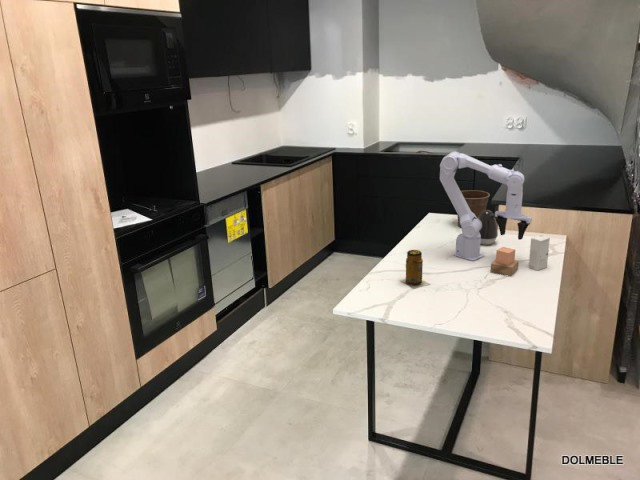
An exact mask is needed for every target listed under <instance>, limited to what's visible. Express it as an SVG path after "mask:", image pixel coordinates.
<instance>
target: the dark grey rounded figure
mask: <svg viewBox="0 0 640 480" xmlns="http://www.w3.org/2000/svg"><path fill="white" fill-rule="evenodd" d="M496 218H497V217H496V216H495V213H493V211H491V210H489V209H486V210H484V211H482V212H481V213H480V215H479V217H478V219H479V220H480V221H481V222H482V228H481V230H480V231H479V233H480V235H481V241H480V245H483V246H486V245H487V246H489V245H492V244H494V243H495V241H496V240H497V237H498V236H499V233H498V224H497V222H496Z"/></svg>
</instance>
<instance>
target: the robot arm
mask: <svg viewBox="0 0 640 480" xmlns="http://www.w3.org/2000/svg"><path fill="white" fill-rule="evenodd" d="M439 168H440V169H439V170H440V171H439V181H440V183H441V184H442V186H443V189H444V191H445V193H446V194H447V196H448V198H449V200H450V202H451V203H452V205H453V206H452V207H453V208H454V210H455V211H456V213H457V214H458V215H457V214H456V215H457V217H458V216H459V217H460V225H461V227H460V228H461V233H459V234H458V235H457V236H456V238H455V252H454V254H453V255H454V256H455V257H458V258H461V259H466V260H468V261H472V262H473V261H476V260H478V259H480V258H482V257H484V256H485V254H482V253H481V244H480V241H481V235H480V233H479V231H480V230H481V228H482V222H481V221H480V220H479V219H478V218H477V217H476V216H475V214H474V213H473V212H471V210H470V208H469V206H468V204H467V202H466V201H465V199H464V197H463V195H462V193H461V191H462V190H460V187H459V185H458V183H457V182H456V179H455V175H456V173H457V170H458V169H464V168H469V169H473V170H476V171H478V172H481V173H483V174H485V175H487V176H488V179H491V180H493V181H495V182H498V183H500V184H503V185H506V186H507V192H506V200H505V202H506V203H505V211H503V210H496V211H495V212H494V214H495V216H496V217H495V219H496V223H497V227H498V228H499V233H500V236H504V235H506V227H507V223H508V219H509V220H513V221H517V222H518V223H517V229H518V231H517V232H518V233H517V239H518V240H519V241H521V240H523V238H524V236H525V233H526V230H527V229H528V227H529V225H530V224H531V223H532V222H533V221H532V219H533V218H532V217H531V216H528V215H525V214H522V206H523V196H524V195H523V194H524V192H523V190H524V188H523V185H524V183H525V175H524V174H523V173H522V172H520V171H519V170H516V171H515V170H514V169H508V168H507V167H503V165H502V164H501V163H499V164H493V165H489V164H488V163H485V162H483V161H481V160H478V159H477V158H475V157H472V156H470V155H468V154H466V153H460V152H459V151H455V150H454V151H451V152H450V153H448V154H447V155H445V156H443V158H442V160H441V162H440V164H439Z"/></svg>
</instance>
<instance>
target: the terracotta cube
mask: <svg viewBox="0 0 640 480" xmlns="http://www.w3.org/2000/svg"><path fill="white" fill-rule="evenodd" d="M495 251H496V253H495V259H496V263H500V264H504V265H510V264H511V263H513V262H514V260H516V259H515V258H516V248H511V247H506V246H502V247H500V248H498V249H497V250H495Z"/></svg>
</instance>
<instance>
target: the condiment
mask: <svg viewBox="0 0 640 480" xmlns="http://www.w3.org/2000/svg"><path fill="white" fill-rule="evenodd" d="M422 253H423V252H422V251H420V249H409V250H407V252H406V254H407V255H406V260H405V278H404V279H401V280H400V281H401V282H403V283H404V284H406V285H408V286H409V287H411V288H413V289H414V288H415V289H417V288H421V287H425V286H428V285H430V283H429V282H427V281H425V280H424V279H423V266H424V265H423V261H424V260H423V258H422V257H423V256H422Z"/></svg>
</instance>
